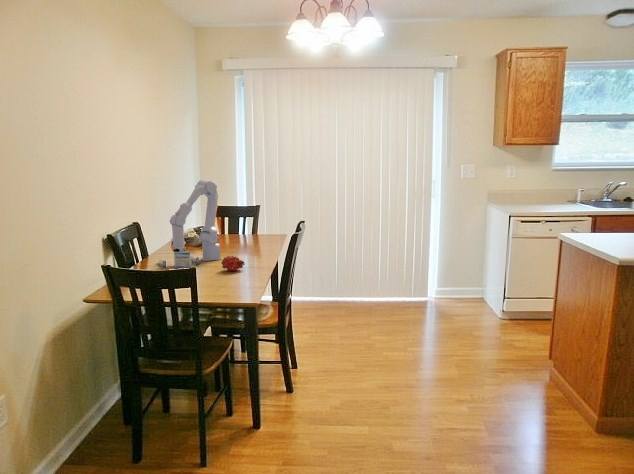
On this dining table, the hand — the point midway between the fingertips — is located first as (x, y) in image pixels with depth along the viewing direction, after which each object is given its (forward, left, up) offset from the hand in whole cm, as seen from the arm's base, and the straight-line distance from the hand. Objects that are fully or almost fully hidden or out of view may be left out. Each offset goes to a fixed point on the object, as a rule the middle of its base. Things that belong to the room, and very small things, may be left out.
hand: (179, 262), depth 268 cm
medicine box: (0, +8, -2) cm, 8 cm away
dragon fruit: (-22, +25, -2) cm, 33 cm away
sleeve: (0, -2, -1) cm, 3 cm away
